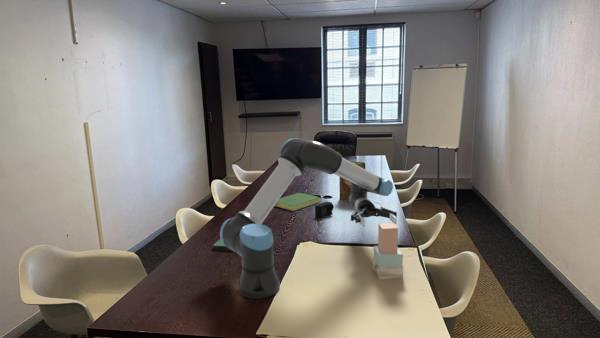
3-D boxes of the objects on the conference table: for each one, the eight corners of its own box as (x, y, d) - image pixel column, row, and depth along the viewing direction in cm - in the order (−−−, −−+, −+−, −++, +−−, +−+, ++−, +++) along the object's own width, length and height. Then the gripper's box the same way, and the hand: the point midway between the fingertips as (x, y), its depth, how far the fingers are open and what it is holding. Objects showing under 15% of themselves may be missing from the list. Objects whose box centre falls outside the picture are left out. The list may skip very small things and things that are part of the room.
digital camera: (322, 218, 224) (322, 206, 223) (315, 217, 228) (314, 205, 226) (333, 214, 232) (333, 202, 230) (326, 212, 235) (326, 201, 234)
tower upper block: (373, 257, 161) (373, 245, 160) (395, 256, 161) (395, 244, 160) (379, 267, 152) (379, 255, 151) (402, 266, 152) (402, 254, 151)
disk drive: (250, 244, 192) (221, 242, 195) (250, 239, 191) (221, 236, 195) (242, 253, 182) (212, 250, 186) (241, 247, 182) (211, 245, 185)
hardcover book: (299, 198, 269) (299, 192, 268) (320, 202, 256) (320, 197, 255) (271, 206, 252) (271, 200, 251) (292, 212, 239) (292, 206, 238)
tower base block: (373, 269, 162) (373, 257, 161) (394, 267, 162) (395, 256, 161) (379, 279, 153) (380, 267, 152) (402, 277, 154) (403, 265, 153)
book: (338, 199, 260) (338, 162, 255) (342, 197, 265) (341, 160, 260) (361, 203, 252) (361, 164, 247) (365, 200, 256) (365, 162, 251)
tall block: (378, 247, 158) (378, 223, 156) (393, 246, 158) (393, 222, 156) (381, 253, 152) (382, 228, 150) (397, 253, 152) (398, 228, 150)
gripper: (390, 213, 187) (408, 228, 166) (338, 216, 184) (350, 233, 163) (391, 197, 185) (409, 211, 164) (338, 201, 182) (350, 215, 161)
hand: (379, 222), depth 164 cm, fingers open, 13 cm apart
